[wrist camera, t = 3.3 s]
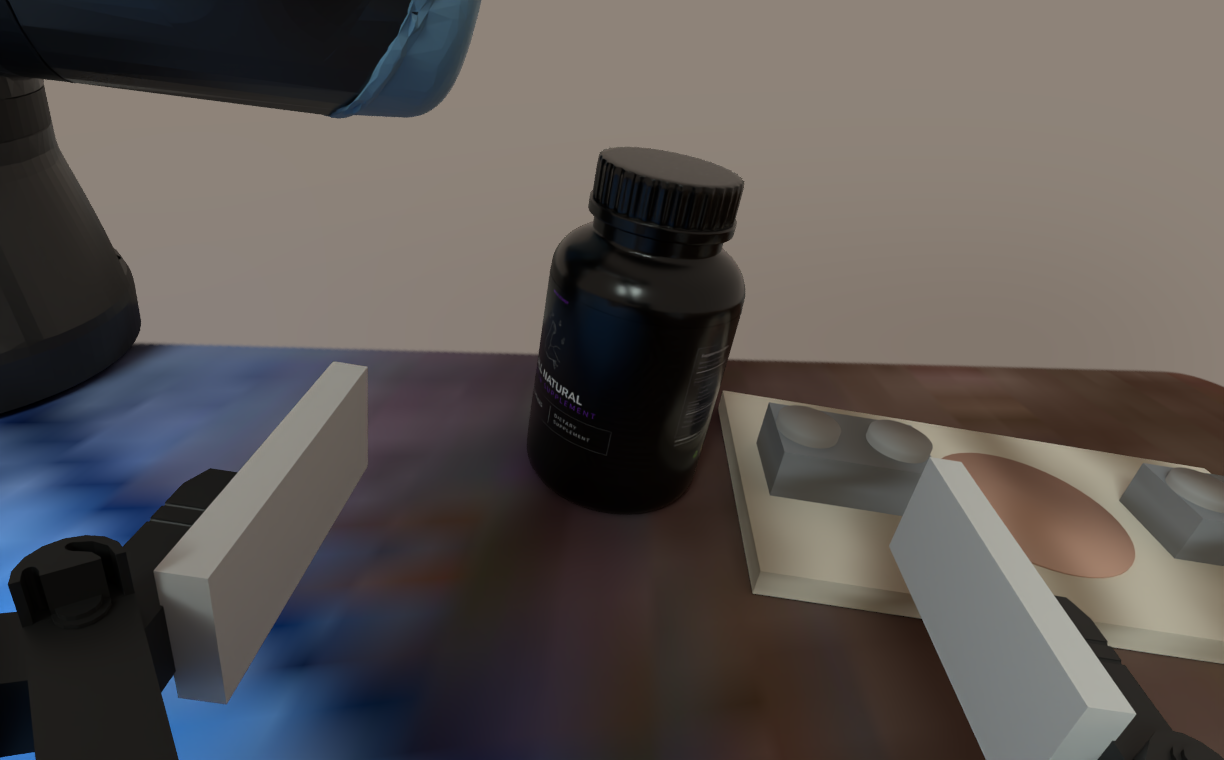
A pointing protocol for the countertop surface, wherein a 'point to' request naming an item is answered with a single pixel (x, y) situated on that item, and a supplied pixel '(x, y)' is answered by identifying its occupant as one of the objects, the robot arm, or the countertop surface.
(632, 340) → the supplement bottle
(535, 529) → the countertop surface
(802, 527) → the cream base tray
